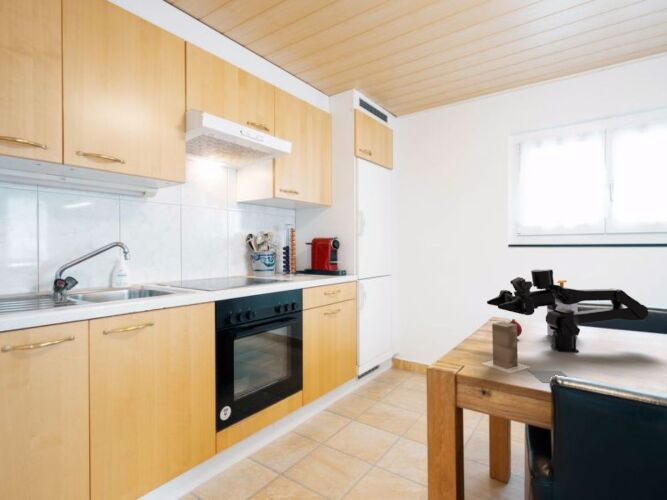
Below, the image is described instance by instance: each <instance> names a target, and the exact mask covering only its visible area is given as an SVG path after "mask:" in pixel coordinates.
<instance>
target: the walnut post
mask: <svg viewBox="0 0 667 500" xmlns="http://www.w3.org/2000/svg"><path fill="white" fill-rule="evenodd" d="M491 326H492V328H491V329H492V360H493V364H494V365H497V366H500V367H503V368H506V369H509V368H513V367H516V366H518V363H519V361H518V359H519V358H518V337H517V325H516V324H511V323H509V322H506V321H500V322H494V323H492V324H491Z"/></svg>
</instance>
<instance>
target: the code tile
mask: <svg viewBox="0 0 667 500" xmlns="http://www.w3.org/2000/svg"><path fill="white" fill-rule="evenodd" d="M480 364H482V365H485V366H487V367H490V368H493V369H495V370H499V371H501V372H504V373H508V374H512V373H516V372H518V371H519V372H520V371H521V370H525V369H529V368H530V366H529V365H526V364H522V363H519V362H518V366H516V367H513V368H509V369H506V368H503V367H500V366H497V365H494V364H493V359H492V360H489V361H485V362H481V363H480Z"/></svg>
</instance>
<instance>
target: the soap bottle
mask: <svg viewBox="0 0 667 500" xmlns="http://www.w3.org/2000/svg"><path fill="white" fill-rule="evenodd" d="M556 283H558V284H559V286H561V287H564V283H567V280H565V279H560V280H557V282H556ZM564 288H566V287H564ZM555 303H556V304H557V305H558V306H557V307H556V309H561V308H566V309H569V310H573V311H574V312H579V311H578V306H579V303H576V304H570V305H566V304H562V303H558V302H555ZM550 311H553V310H549V309H548V308H547V307H546V315H547V314H548V312H550ZM546 324H547V323H546ZM546 327H547V328H546V329H547V333H546V334H547V335H548V336H551V337H552V335H553V331H554V330H551V328H550V326H549V325H548V324H547V326H546ZM577 327H578V328H579V325H577ZM578 336H579V335H576V338H577V337H578Z"/></svg>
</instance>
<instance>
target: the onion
mask: <svg viewBox="0 0 667 500" xmlns="http://www.w3.org/2000/svg"><path fill="white" fill-rule="evenodd" d="M508 323H511V324H516V325H517V338H518V337H519V336H521V335H522V333H523V328H522V326H521V324H520V323H518V321H516V319H515V318H512V319H511V321H509V322H508Z"/></svg>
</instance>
